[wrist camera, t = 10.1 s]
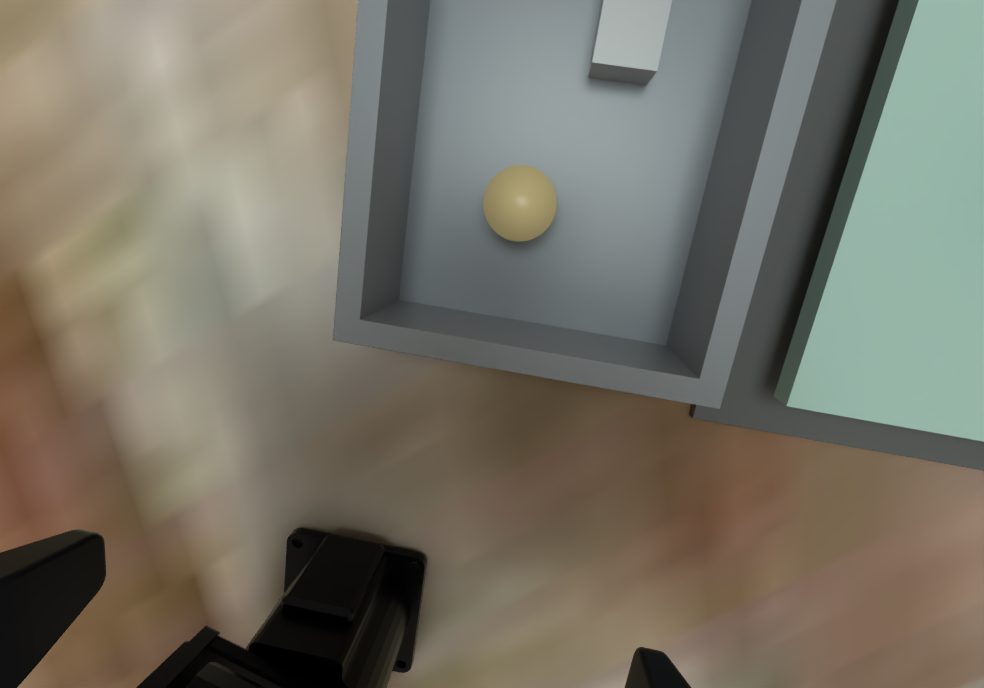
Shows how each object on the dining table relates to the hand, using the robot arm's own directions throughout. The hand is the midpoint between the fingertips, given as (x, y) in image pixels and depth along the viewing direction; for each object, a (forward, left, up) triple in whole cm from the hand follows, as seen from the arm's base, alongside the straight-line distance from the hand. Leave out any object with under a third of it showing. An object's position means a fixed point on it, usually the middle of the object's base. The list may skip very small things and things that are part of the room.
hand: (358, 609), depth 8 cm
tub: (+10, -2, -13) cm, 17 cm away
